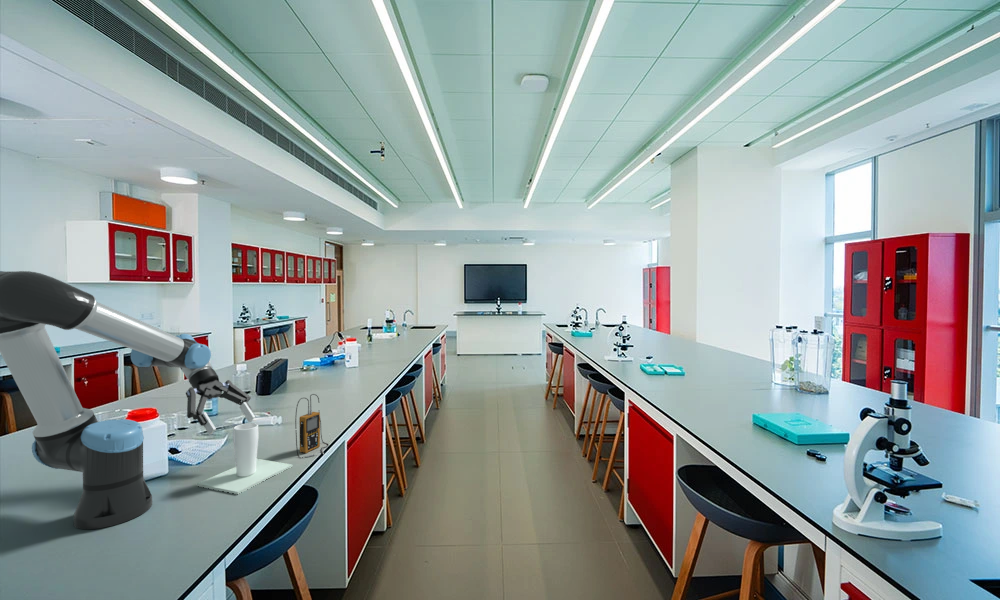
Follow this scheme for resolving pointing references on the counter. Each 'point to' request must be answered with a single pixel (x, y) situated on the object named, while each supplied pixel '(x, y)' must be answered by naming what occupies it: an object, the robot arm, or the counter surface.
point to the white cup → (246, 448)
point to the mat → (237, 484)
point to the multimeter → (309, 430)
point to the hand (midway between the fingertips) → (233, 425)
